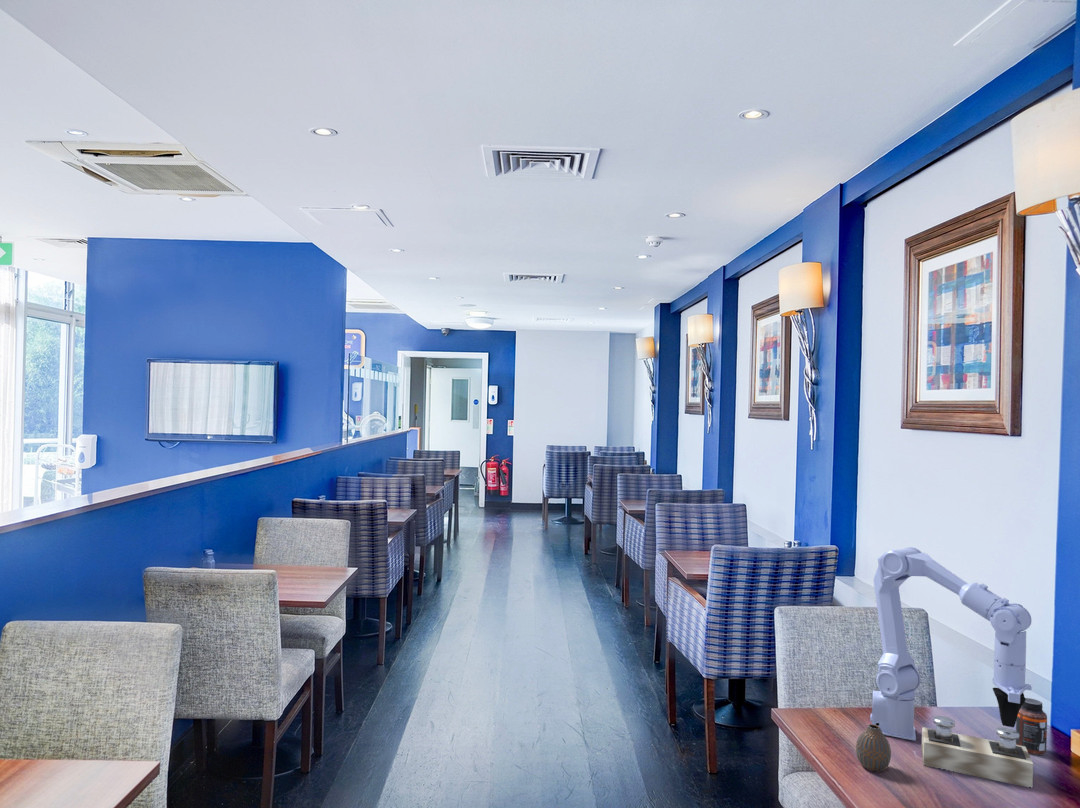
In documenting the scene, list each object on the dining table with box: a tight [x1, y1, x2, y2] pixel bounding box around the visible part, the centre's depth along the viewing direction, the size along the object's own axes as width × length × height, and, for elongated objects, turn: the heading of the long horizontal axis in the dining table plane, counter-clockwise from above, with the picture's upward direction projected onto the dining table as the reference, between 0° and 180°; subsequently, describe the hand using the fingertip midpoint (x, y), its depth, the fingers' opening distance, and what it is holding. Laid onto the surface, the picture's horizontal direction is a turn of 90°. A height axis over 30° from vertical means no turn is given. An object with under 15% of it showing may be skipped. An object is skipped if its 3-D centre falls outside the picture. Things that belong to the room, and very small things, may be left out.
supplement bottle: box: [1015, 697, 1048, 756], centre depth 171 cm, size 6×6×11 cm
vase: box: [855, 723, 892, 772], centre depth 159 cm, size 7×7×9 cm
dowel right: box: [995, 726, 1019, 754], centre depth 158 cm, size 4×4×5 cm
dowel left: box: [932, 715, 956, 741], centre depth 163 cm, size 4×4×5 cm
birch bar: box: [921, 726, 1034, 789], centre depth 161 cm, size 20×9×5 cm, turn 65°
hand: (1007, 725), depth 158 cm, fingers closed
